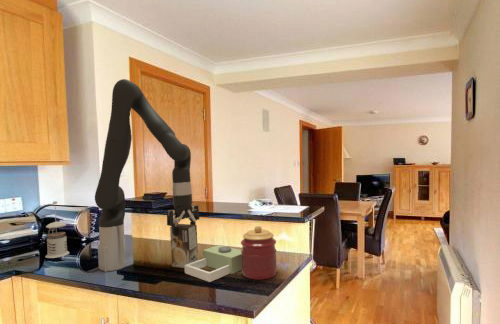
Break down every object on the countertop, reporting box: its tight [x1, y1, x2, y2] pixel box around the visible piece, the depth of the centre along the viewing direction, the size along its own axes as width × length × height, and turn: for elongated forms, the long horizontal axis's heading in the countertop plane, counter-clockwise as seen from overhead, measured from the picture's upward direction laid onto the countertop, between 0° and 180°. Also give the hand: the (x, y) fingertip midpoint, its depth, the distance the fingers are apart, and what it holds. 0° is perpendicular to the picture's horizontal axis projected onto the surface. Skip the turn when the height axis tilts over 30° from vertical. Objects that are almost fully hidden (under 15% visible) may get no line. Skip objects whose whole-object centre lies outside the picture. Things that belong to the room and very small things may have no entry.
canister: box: [240, 225, 278, 281], centre depth 116 cm, size 13×13×18 cm
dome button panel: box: [184, 244, 242, 283], centre depth 121 cm, size 19×16×7 cm
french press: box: [44, 200, 70, 259], centre depth 148 cm, size 10×12×25 cm
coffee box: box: [169, 223, 199, 269], centre depth 128 cm, size 9×6×16 cm
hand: (184, 233), depth 128 cm, fingers open, 8 cm apart
